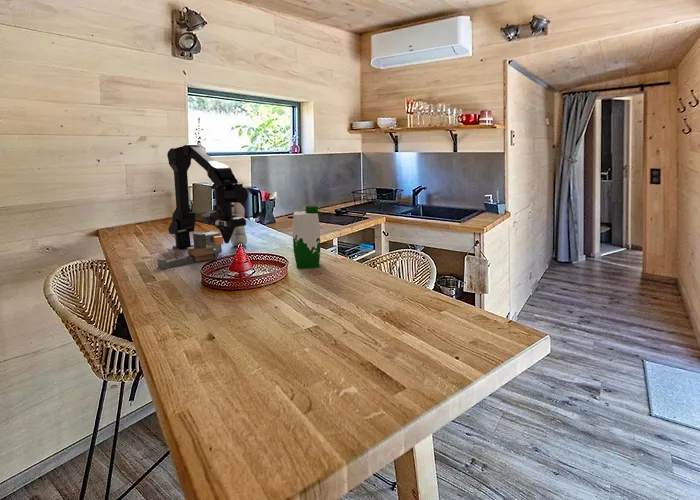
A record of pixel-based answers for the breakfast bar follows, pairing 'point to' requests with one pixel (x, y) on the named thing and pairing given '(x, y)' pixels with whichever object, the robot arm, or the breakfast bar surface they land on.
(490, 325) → the breakfast bar surface
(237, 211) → the plastic bottle
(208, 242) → the block
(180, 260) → the rail
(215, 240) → the plunger
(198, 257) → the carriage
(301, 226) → the milk carton
